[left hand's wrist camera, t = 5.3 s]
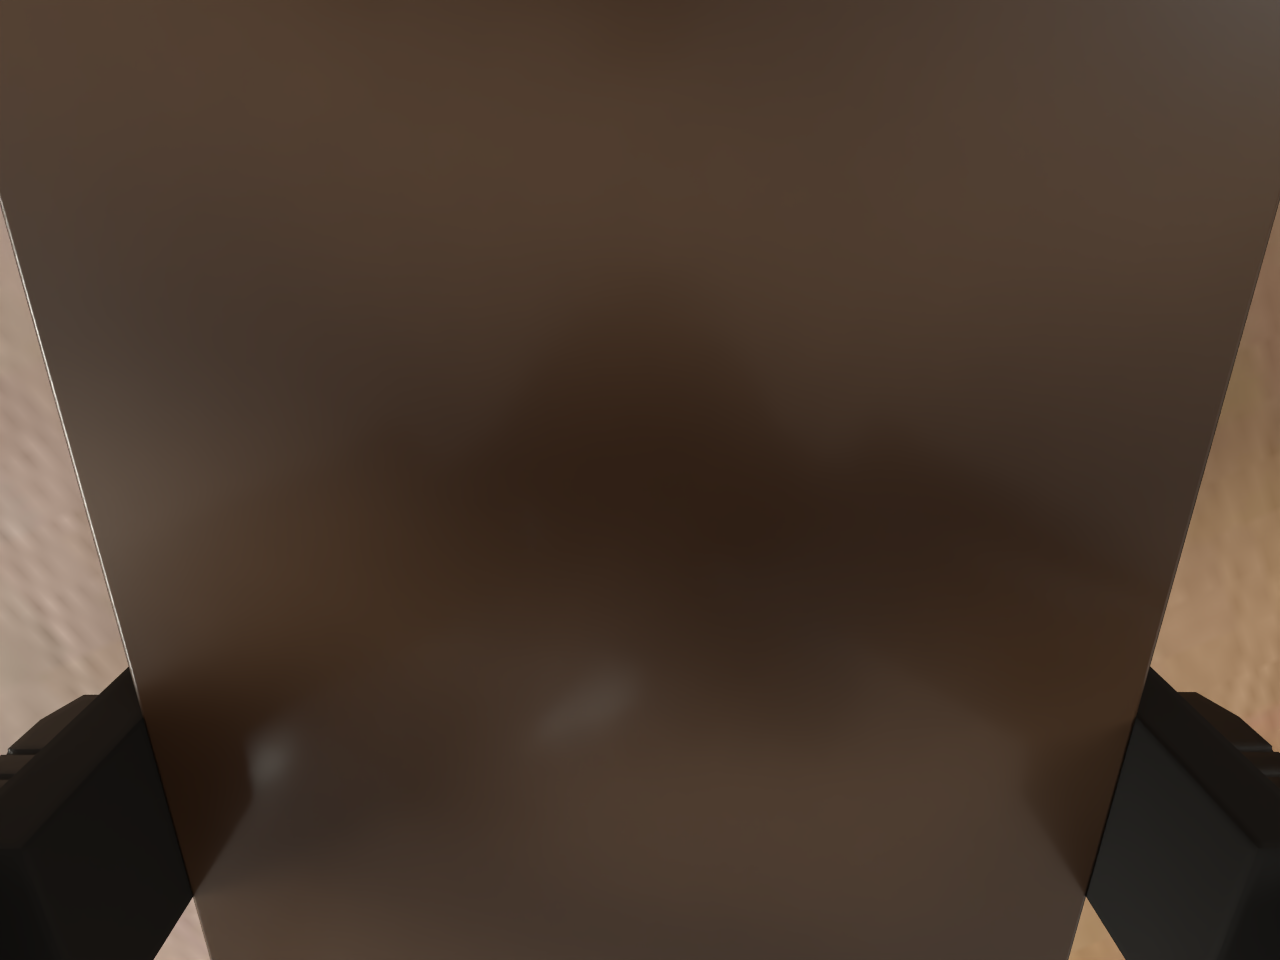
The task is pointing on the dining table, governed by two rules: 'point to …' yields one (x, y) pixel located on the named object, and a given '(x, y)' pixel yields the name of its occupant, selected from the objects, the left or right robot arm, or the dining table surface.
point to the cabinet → (639, 445)
